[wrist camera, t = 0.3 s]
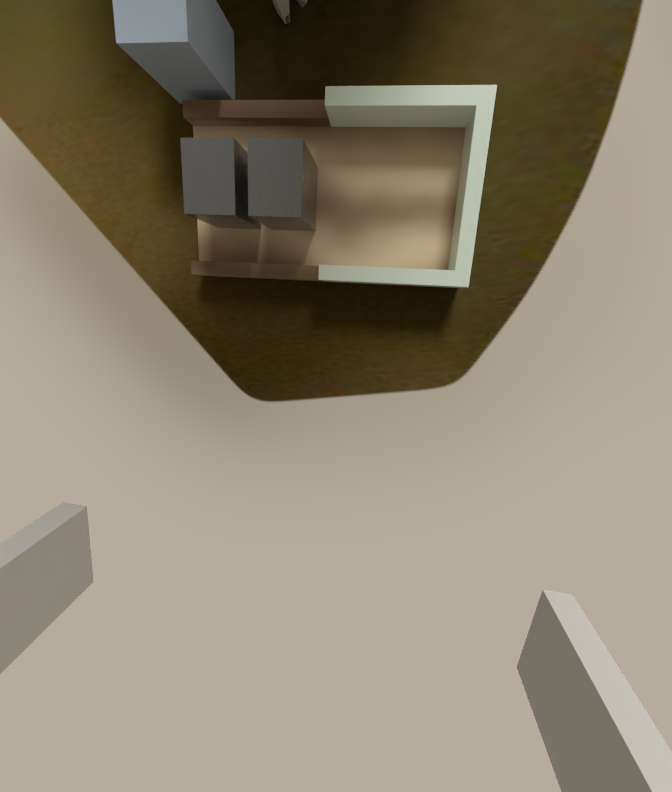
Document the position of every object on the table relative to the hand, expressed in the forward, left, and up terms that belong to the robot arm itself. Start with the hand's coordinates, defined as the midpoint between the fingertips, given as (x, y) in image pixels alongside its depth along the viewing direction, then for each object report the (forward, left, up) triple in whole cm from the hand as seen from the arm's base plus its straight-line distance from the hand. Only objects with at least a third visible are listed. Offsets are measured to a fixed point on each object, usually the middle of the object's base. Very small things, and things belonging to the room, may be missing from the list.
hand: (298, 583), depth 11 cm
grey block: (-26, -15, -27) cm, 40 cm away
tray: (-16, +2, -27) cm, 31 cm away
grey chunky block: (-16, -7, -26) cm, 31 cm away
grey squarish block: (-16, -12, -26) cm, 33 cm away
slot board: (-16, -4, -27) cm, 31 cm away
